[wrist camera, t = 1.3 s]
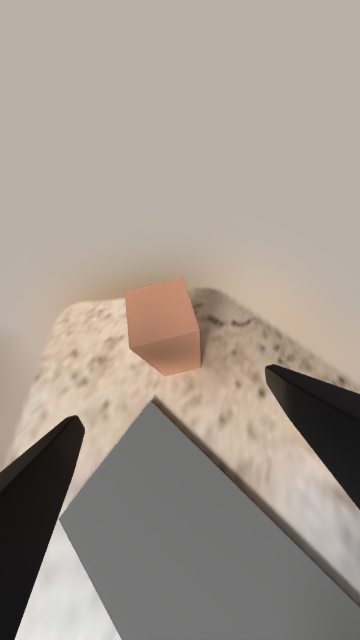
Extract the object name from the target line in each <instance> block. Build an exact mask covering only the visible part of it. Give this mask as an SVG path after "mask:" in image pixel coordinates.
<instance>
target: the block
mask: <svg viewBox="0 0 360 640" xmlns="http://www.w3.org/2000/svg"><path fill="white" fill-rule="evenodd" d="M125 300H126V312H127V324H128V336H129V348H130V349H131V350H132V351H133V352H135V353H136V354H137V355H138V356H140V357H141V358H142V359H143V360H145V361H146V362H147V363H149V364H150V365H151V366H152V367H154V368H155V369H156V370H157V371H159V372H160V373H161V374H162V375H164V376H169V375H173V374H176V373H180V372H184V371H188V370H192V369H196V368H200V367H201V358H200V329H199V326H198V323H197V320H196V316H195V313H194V310H193V307H192V304H191V300H190V297H189V294H188V291H187V287H186V284H185V281H184V278H183V277H182V278H178V279H174V280H170V281H167V282H162V283H158V284H155V285H151V286H146V287H143V288H139V289H135V290H131V291H127V292H125Z"/></svg>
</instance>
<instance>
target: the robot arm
mask: <svg viewBox="0 0 360 640" xmlns="http://www.w3.org/2000/svg"><path fill="white" fill-rule="evenodd" d="M265 375H266V382H267V385H268V387H269V388H270V390H271V391H272V393H273V395H274V396H275V398H276V399H277V401H278V402H279V404H280V406H281V407H282V409H283V410H284V412H285V413H286V415H287V416H288V418H289V419H290V421H291V422H292V423H293V425H294V426H295V427H296V428H297V430H298V431H299V432H300V434H301V435H302V436H303V437H304V439H305V440H306V441H307V443H308V444H309V445H310V446H311V448H312V449H313V450H314V452H315V453H316V454H317V455H318V457H319V458H320V459H321V461H322V462H323V463H324V464H325V466H326V467H327V468H328V470H329V471H330V472H331V474H332V475H333V476H334V477H335V479H336V480H337V481H338V483H339V484H340V485H341V486H342V488H343V489H344V490H345V492H346V493H347V494H348V495H349V497H350V498H351V499H352V501H353V502H354V503H355V504H356V506H357V507H358V508H359V510H360V394H358V393H355V392H352V391H349V390H347V389H344V388H341V387H338V386H335V385H332V384H329V383H327V382H324V381H321V380H318V379H315V378H312V377H309V376H307V375H304V374H301V373H298V372H295V371H292V370H290V369H287V368H284V367H281V366H278V365H275V364H272V365H268V366H266V367H265ZM84 434H85V428H84V426H83V424H82V422H81V421H80V419H79V417H78V416H77V415H74V416H70V417H67V418H65V419H64V420H63V421H62V422H60V423H59V424H58V425H57V426H56V427H54V428H53V429H52V430H51V431H50V432H48V433H47V434H46V435H45V436H44V437H42V438H41V439H40V440H39V441H38V442H36V443H35V444H34V445H33V446H32V447H30V448H29V449H28V450H27V451H26V452H24V453H23V454H22V455H21V456H20V457H18V458H17V459H16V460H15V461H13V462H12V463H11V464H10V465H9V466H7V467H6V468H5V469H4V470H3V471H1V472H0V640H15V637H16V634H17V631H18V628H19V626H20V623H21V620H22V617H23V614H24V612H25V609H26V606H27V603H28V600H29V598H30V595H31V592H32V589H33V586H34V584H35V581H36V578H37V575H38V572H39V570H40V567H41V564H42V561H43V558H44V555H45V553H46V550H47V547H48V544H49V541H50V539H51V536H52V533H53V530H54V527H55V525H56V522H57V519H58V516H59V513H60V511H61V508H62V505H63V502H64V499H65V497H66V494H67V491H68V488H69V485H70V482H71V480H72V477H73V474H74V470H75V467H76V463H77V460H78V456H79V452H80V449H81V445H82V441H83V437H84Z"/></svg>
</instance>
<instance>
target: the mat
mask: <svg viewBox="0 0 360 640" xmlns="http://www.w3.org/2000/svg"><path fill="white" fill-rule="evenodd" d="M59 521H60V523H61V525H62V526H63V528H64V530H65V532H66V534H67V536H68V538H69V540H70V542H71V544H72V546H73V548H74V549H75V551H76V553H77V555H78V557H79V559H80V561H81V563H82V565H83V567H84V569H85V570H86V572H87V574H88V576H89V578H90V580H91V582H92V584H93V586H94V588H95V590H96V591H97V593H98V595H99V597H100V599H101V601H102V603H103V605H104V607H105V609H106V611H107V612H108V614H109V616H110V618H111V620H112V622H113V624H114V626H115V628H116V630H117V632H118V633H119V635H120V637H121V639H122V640H360V606H359V605H358V604H357V603H356V602H355V601H354V600H353V599H352V598H351V597H350V596H349V595H348V594H347V593H346V592H345V591H344V590H343V589H342V588H341V587H340V586H339V585H338V584H337V583H336V582H335V581H334V580H333V579H332V578H331V577H330V576H329V575H328V574H327V573H326V572H325V571H324V570H323V569H322V568H321V567H320V566H319V565H318V564H317V563H316V562H315V561H314V560H313V559H312V558H311V557H310V556H309V555H308V554H307V553H306V552H305V551H304V550H303V549H302V548H300V547H299V546H298V545H297V544H296V543H295V542H294V541H293V540H292V539H291V538H290V537H289V536H288V535H287V534H286V533H285V532H284V531H283V530H282V529H281V528H280V527H279V526H278V525H277V524H276V523H275V522H274V521H273V520H272V519H271V518H270V517H269V516H268V515H267V514H266V513H265V512H264V511H263V510H262V509H261V508H260V507H259V506H258V505H257V504H256V503H255V502H254V501H253V500H252V499H251V498H250V497H249V496H248V495H247V494H246V493H245V492H244V491H243V490H242V489H241V488H240V487H239V486H238V485H237V484H236V483H235V482H234V481H232V480H231V479H230V478H229V477H228V476H227V475H226V474H225V473H224V472H223V471H222V470H221V469H220V468H219V467H218V466H217V465H216V464H215V463H214V462H213V461H212V460H211V459H210V458H209V457H208V456H207V455H206V454H205V453H204V452H203V451H202V450H201V449H200V448H199V447H198V446H197V445H196V444H195V443H194V442H193V441H192V440H191V439H190V438H189V437H188V436H187V435H186V434H185V433H184V432H183V431H182V430H181V429H180V428H179V427H178V426H177V425H176V424H175V423H174V422H173V421H172V420H171V419H170V418H169V417H168V416H167V415H166V414H164V413H163V412H162V411H161V410H160V409H159V408H158V407H157V406H156V405H155V404H154V403H153V402H152V401H150V403H149V404H148V405H147V407H146V408H145V409H144V410H143V412H142V413H141V414H140V416H139V417H138V418H137V419H136V421H135V422H134V423H133V424H132V426H131V427H130V428H129V430H128V431H127V432H126V433H125V435H124V436H123V437H122V439H121V440H120V441H119V442H118V444H117V445H116V446H115V448H114V449H113V450H112V451H111V453H110V454H109V455H108V456H107V458H106V459H105V460H104V462H103V463H102V464H101V465H100V467H99V468H98V469H97V471H96V472H95V473H94V474H93V476H92V477H91V478H90V479H89V481H88V482H87V483H86V485H85V486H84V487H83V488H82V490H81V491H80V492H79V494H78V495H77V496H76V497H75V499H74V500H73V501H72V503H71V504H70V505H69V506H68V508H67V509H66V510H65V511H64V513H63V514H62V515H61V517H60V518H59Z"/></svg>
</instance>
